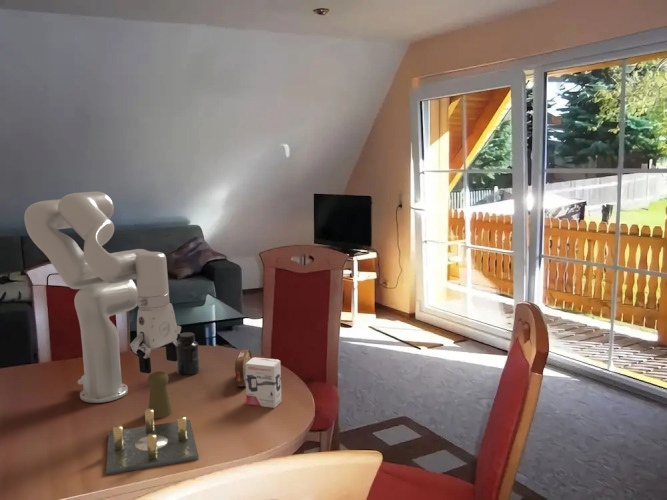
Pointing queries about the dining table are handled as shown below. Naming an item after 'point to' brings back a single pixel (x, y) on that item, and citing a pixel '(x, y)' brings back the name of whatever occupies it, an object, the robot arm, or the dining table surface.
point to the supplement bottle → (187, 355)
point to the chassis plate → (141, 456)
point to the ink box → (263, 382)
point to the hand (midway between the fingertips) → (159, 366)
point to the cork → (159, 394)
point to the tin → (242, 367)
